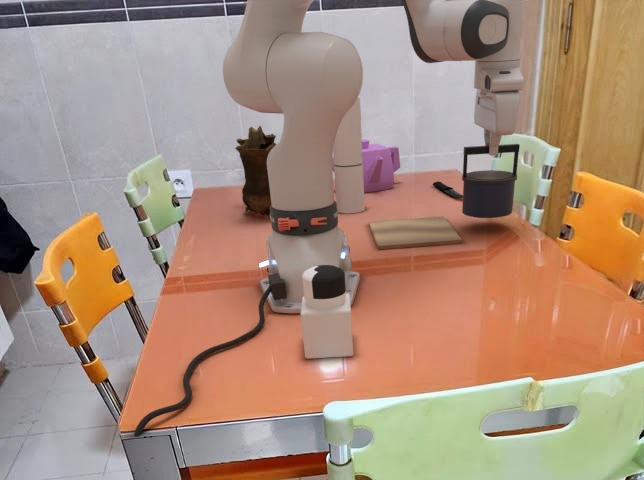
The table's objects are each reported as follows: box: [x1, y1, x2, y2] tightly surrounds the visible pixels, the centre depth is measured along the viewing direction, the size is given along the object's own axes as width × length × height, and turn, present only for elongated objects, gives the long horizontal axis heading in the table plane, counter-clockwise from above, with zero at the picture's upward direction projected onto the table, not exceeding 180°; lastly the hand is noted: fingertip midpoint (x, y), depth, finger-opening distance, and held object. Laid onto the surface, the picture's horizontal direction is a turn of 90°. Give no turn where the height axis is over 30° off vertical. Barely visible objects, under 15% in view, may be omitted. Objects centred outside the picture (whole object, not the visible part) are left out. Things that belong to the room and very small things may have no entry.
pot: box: [461, 143, 521, 219], centre depth 141 cm, size 12×12×13 cm
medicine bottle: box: [300, 265, 354, 360], centre depth 94 cm, size 7×7×12 cm
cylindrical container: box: [333, 96, 366, 214], centre depth 159 cm, size 7×7×25 cm
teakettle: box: [332, 139, 401, 194], centre depth 183 cm, size 17×17×12 cm
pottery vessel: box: [234, 125, 278, 217], centre depth 163 cm, size 25×11×20 cm, turn 7°
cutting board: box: [368, 215, 463, 250], centre depth 146 cm, size 20×18×1 cm
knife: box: [432, 180, 463, 199], centre depth 175 cm, size 21×1×3 cm
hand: (491, 153), depth 138 cm, fingers closed on pot
